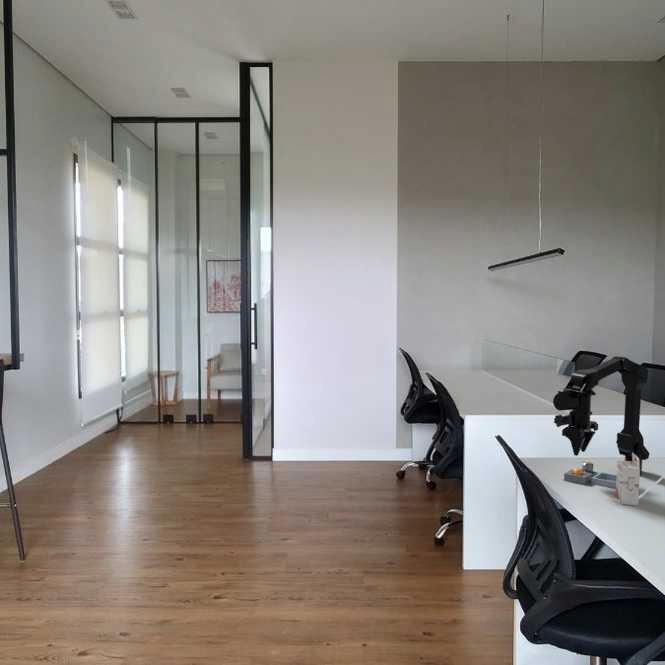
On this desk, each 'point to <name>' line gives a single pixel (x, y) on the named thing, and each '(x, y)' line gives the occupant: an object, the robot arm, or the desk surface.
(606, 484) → the cup
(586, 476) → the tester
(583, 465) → the cylinder
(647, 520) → the desk surface
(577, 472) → the tester button
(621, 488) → the ink cartridge box
